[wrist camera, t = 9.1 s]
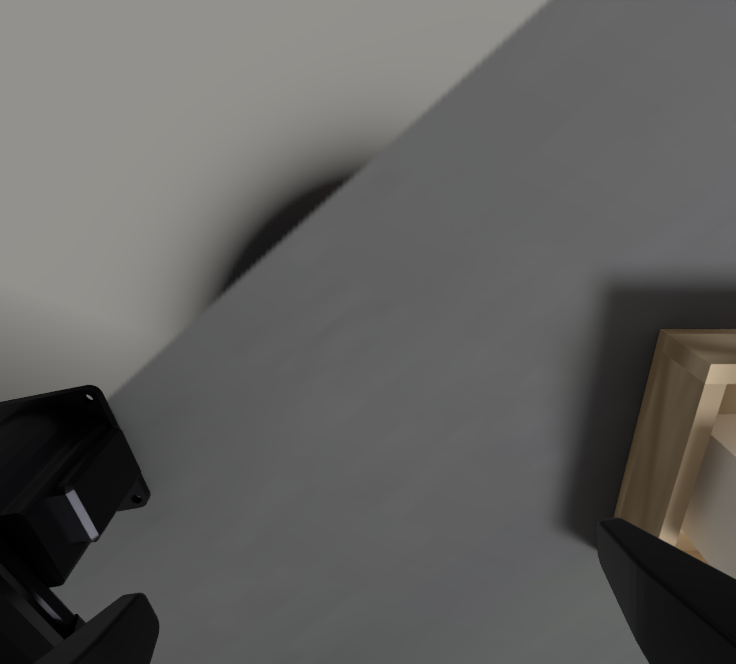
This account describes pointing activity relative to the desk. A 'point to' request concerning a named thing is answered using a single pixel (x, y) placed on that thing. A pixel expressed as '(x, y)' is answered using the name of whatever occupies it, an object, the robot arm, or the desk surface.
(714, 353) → the tray
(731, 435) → the stand
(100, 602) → the desk surface
